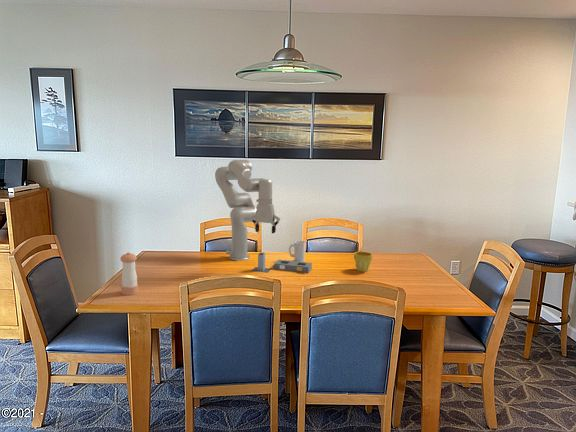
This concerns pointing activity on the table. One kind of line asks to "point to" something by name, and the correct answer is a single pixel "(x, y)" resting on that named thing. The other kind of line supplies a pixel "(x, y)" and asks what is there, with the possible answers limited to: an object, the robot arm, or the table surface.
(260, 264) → the plug
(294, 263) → the socket strip
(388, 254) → the table surface
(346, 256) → the table surface
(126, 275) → the salt shaker
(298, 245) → the mug
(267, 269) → the mat
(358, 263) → the plant pot
